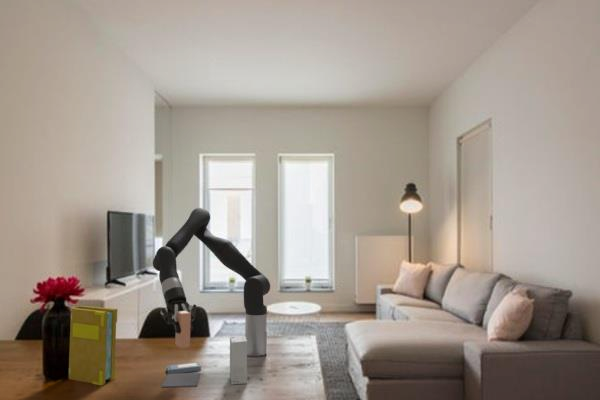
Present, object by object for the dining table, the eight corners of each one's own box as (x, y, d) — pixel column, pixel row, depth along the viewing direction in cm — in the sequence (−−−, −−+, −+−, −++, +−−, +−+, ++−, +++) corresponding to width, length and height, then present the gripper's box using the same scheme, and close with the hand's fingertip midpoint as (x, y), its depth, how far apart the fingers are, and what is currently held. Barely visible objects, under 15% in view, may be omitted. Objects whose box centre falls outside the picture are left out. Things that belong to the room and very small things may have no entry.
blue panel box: (198, 365, 170) (198, 361, 170) (200, 370, 165) (200, 366, 165) (167, 369, 165) (167, 365, 165) (168, 374, 161) (168, 369, 161)
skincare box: (247, 384, 152) (248, 341, 153) (230, 385, 151) (231, 342, 152) (245, 375, 160) (245, 335, 161) (228, 376, 159) (229, 335, 160)
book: (115, 378, 155) (117, 308, 156) (101, 385, 149) (103, 312, 150) (78, 372, 161) (81, 305, 162) (63, 378, 155) (66, 308, 156)
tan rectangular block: (184, 343, 158) (185, 310, 159) (190, 346, 154) (191, 312, 155) (175, 344, 156) (176, 311, 157) (180, 348, 152) (181, 314, 153)
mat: (200, 373, 161) (200, 372, 161) (197, 386, 149) (197, 385, 149) (167, 374, 160) (167, 373, 160) (161, 387, 148) (161, 386, 148)
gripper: (188, 296, 170) (200, 334, 160) (152, 300, 162) (162, 340, 152) (194, 284, 166) (206, 323, 156) (157, 287, 158) (168, 328, 148)
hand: (185, 331), depth 154 cm, fingers closed on tan rectangular block, 3 cm apart
